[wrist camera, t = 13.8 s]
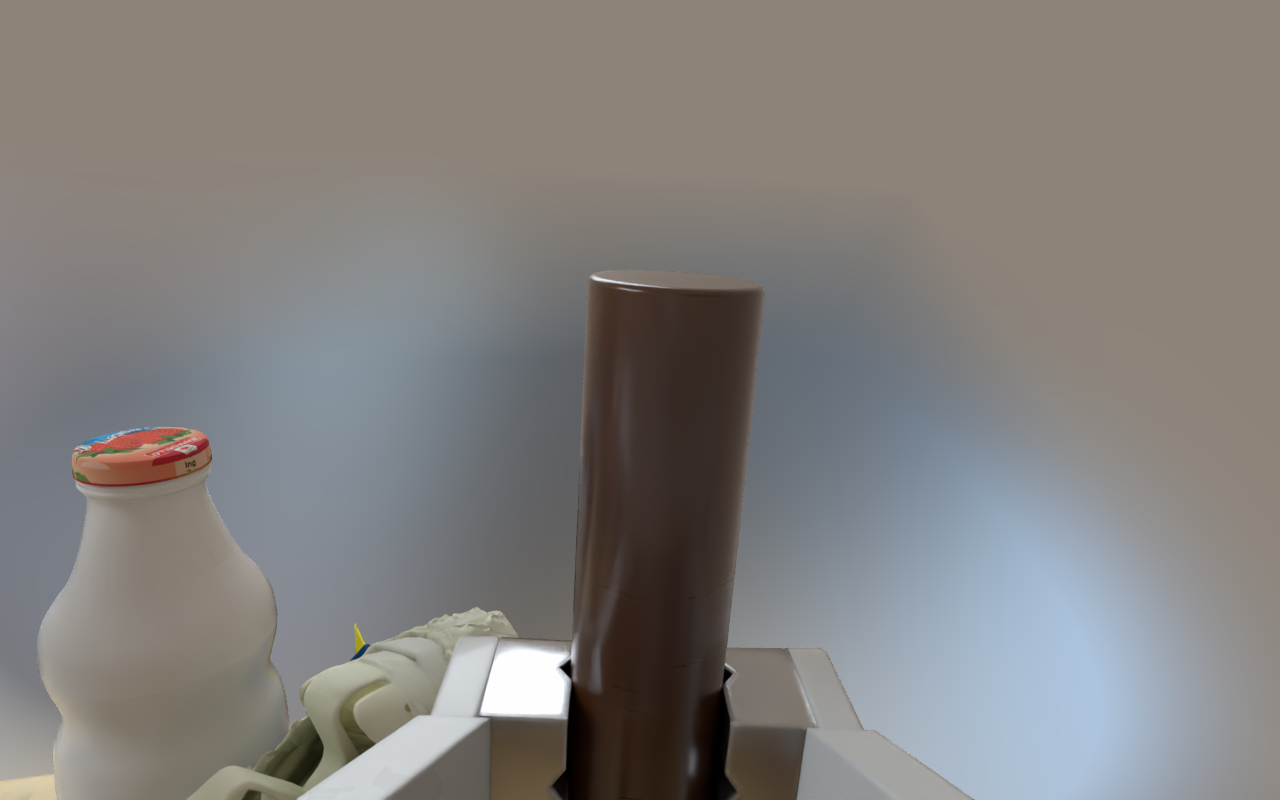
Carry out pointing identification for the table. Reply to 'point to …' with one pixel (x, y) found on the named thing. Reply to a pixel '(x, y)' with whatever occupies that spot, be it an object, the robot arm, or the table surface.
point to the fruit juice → (157, 630)
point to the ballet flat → (355, 709)
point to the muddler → (658, 527)
